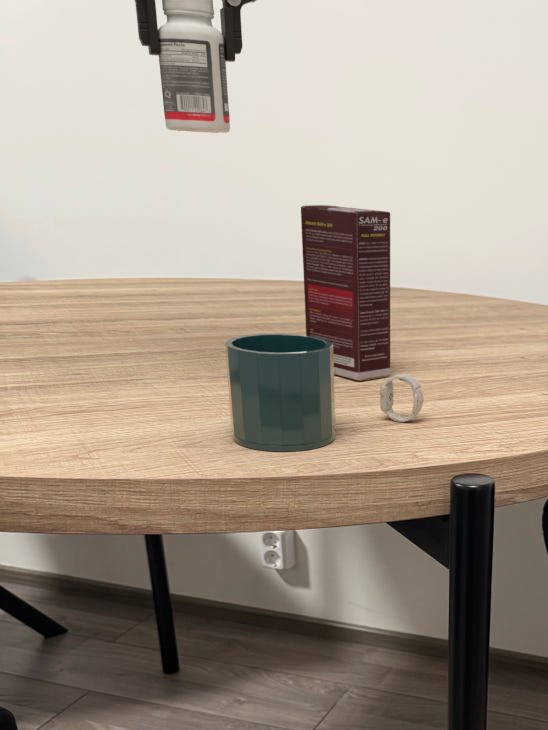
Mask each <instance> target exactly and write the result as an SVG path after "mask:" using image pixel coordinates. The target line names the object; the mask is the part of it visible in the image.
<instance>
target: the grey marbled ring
mask: <svg viewBox="0 0 548 730" xmlns="http://www.w3.org/2000/svg"><path fill="white" fill-rule="evenodd" d="M397 379H398V380H399V381H400V382H401V381H402V382H403V383H406V384H407V385H408V386H410V387H411V390H412V395H413V402H412V403H413V405H412V409H411V410H412V413H411V414H410V415H409V416H401V415H400V414H398V413H396V411H395V410H394V409H393V406H394V396H395V395H394V384H393V383H394V382H393V381H394V380H397ZM379 387H380V391H379V396H380V410H381V411H382V412H384V414H385V415H386V416H387V417H388V418H390V419H391V420H393V421H395V422H397V423H405V422H408V421H411V420H413V419H414V418H416V417H417V416H418V415H419V413H420V412H421V410H422V408H423V405H424V401H425V399H424V393H423V392H424V391H423V389H422V387H421V383H420V382H419V381H418V380H417V379H416V378H415V377H414V376H411V375H409V374H408V373H407V374H406V373H399V374H397V375H394V376H392V377H390V378H388V379H387V380H386V381H385V382H384V383H383V384H381V385H380V386H379Z"/></svg>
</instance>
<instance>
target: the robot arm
mask: <svg viewBox="0 0 548 730" xmlns="http://www.w3.org/2000/svg"><path fill="white" fill-rule="evenodd" d="M221 2H222V3H221V4H222V8H220V9H219V15H220V32H221V34H222V35H223V38H224V44H225V61H226V62H227V63H229V62H230V63H233V62H236V55H239V54H241V53H242V49H243V34H242V31H243V30H242V15H241V13H242V7H244V5H248V4H250V3H255V2H257V0H221ZM134 3H135V13H136V23H137V33H138V40H139V42H140V44H141V46H142V47H147V48H148V54H149V56H159V55H160V48H159V37H158V29H159V27H158V16H157V15H158V14H157V5H156V0H134Z"/></svg>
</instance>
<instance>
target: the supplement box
mask: <svg viewBox="0 0 548 730" xmlns="http://www.w3.org/2000/svg"><path fill="white" fill-rule="evenodd" d="M300 220H301V221H300V223H301V246H302V266H303V267H302V269H303V292H304V314H305V316H304V317H305V335H307V336H314V337H319V338H322V339H326V340H329V341H330V342H331V343H332V344H333V356H334V376H335V375H337V376H339V377H343V378H348V379H351V380H355V381H358V382H360V381H368V380H369V381H370V380H374V379H375V380H376V379H380V378H385V377H390V376H391V212H390V211H384V210H375V209H365V208H356V207H345V206H339V205H324V204H323V205H322V204H320V205H319V204H315V205H313V204H312V205H302V206H300Z"/></svg>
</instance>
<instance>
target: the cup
mask: <svg viewBox="0 0 548 730" xmlns="http://www.w3.org/2000/svg"><path fill="white" fill-rule="evenodd" d="M224 351H225V363H226V376H227V390H228V391H227V392H228V404H229V413H230V428H231V433H232V440H233V441H234V443H236V444H237V445H239V446H242V447H245V448H248V449H253V450H257V451H265V452H298V451H299V452H300V451H308V450H313V449H318V448H322V447H325V446H327V445H329V444H331V443H333V442H334V441H335V437H336V433H335V432H336V407H335V406H336V399H335V396H336V395H335V374H334V356H333V344H332V343H331V342H330V341H329V340H326V339H322V338H319V337H314V336H307V335H306V334H298V333H296V334H295V333H257V334H255V333H254V334H246V335H239V336H236V337H232V338H229V339H227V340H226V341H225V342H224Z"/></svg>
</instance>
